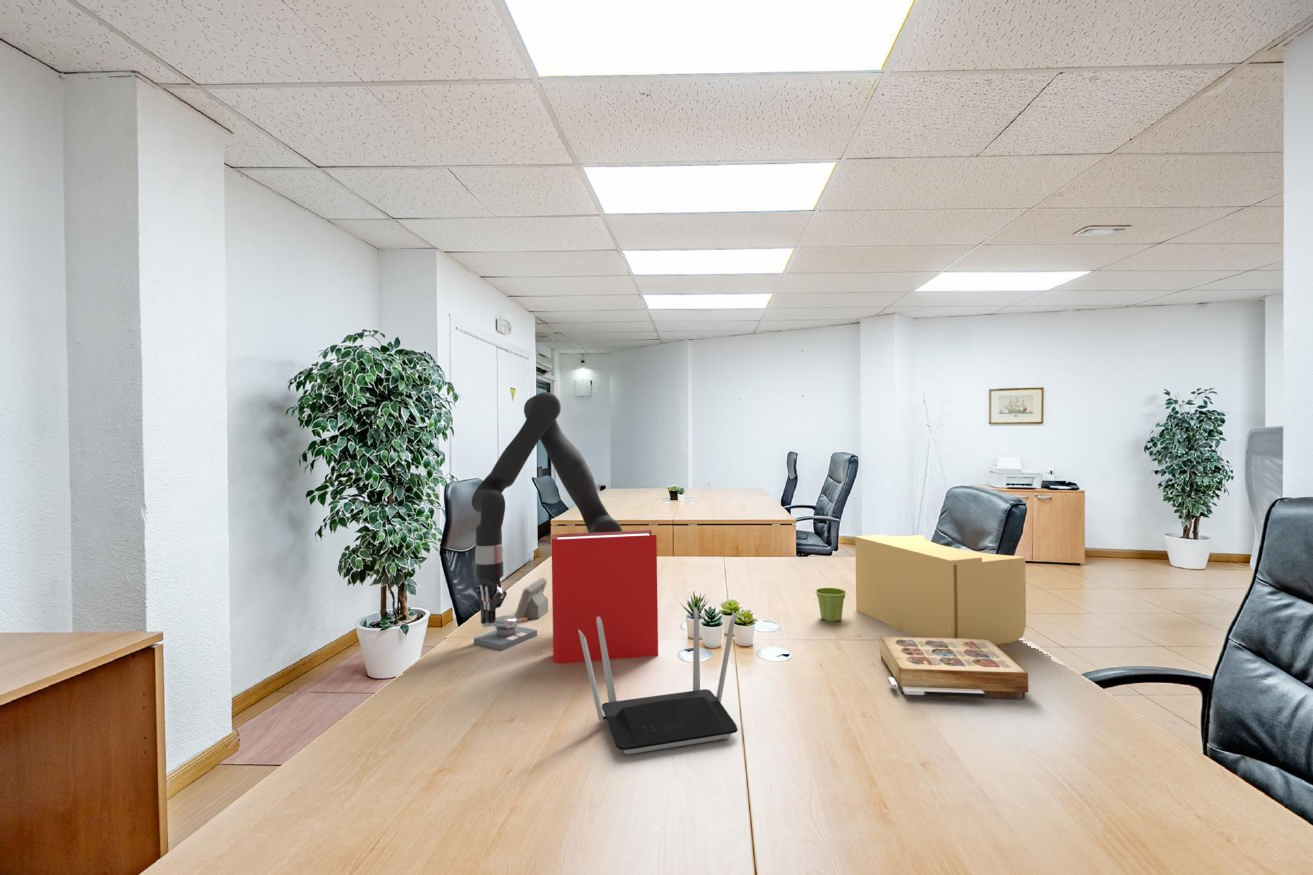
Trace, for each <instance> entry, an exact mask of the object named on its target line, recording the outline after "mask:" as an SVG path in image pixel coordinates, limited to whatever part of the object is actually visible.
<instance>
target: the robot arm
mask: <svg viewBox="0 0 1313 875" xmlns="http://www.w3.org/2000/svg"><path fill="white" fill-rule="evenodd" d="M561 411H562V404H561V401H560V399H559V398H558V397H557V396H556V395H555V394H554V393H552V392H547V391H546V392H540V393H537V394H536V395H533V396H531V397H530V398H529V399H527V400H526V401H525V403H524V407H523V413H524V417H525V421H524V423H523V424H522V426H521V428H520V429H519V431H518V432H517V434H516V435H515V437H514V438H512V440H511V441H510V443H509V444H508V445H507V446H506V448H505V449H504V451H502V452H501V455H500V456H499V458H498V459H497V461H496V463H495V464H494V466H493V468H492V470H491V471H490V473H489V474H487V476H486V477H485V478H484V480H482V482H481V483H480V484H479V485H478V486H477V487H476V489H475V491H474V493H473V494H472V496H471V506H472V508H473V510H474V511H475V512H477V513H479V514H480V523H479V524H477V525H476V528H475V551H474V552H475V553H474V554H475V555H474V562H475V563H474V564H475V578H476V580H478V585H477V586H474V588H473V591H474V593H475V596H476V597H477V600H478V603H479V605H480V607H481V606H484V609H485V613H486V623H489V624H491V623H494V622H495V621H496V618H497V615H496V614H497V613H496V610H497V609H499V608H500V607H501V606H502V605H503V603H504V601H505V598H506V596H507V594H508V593H507V591H506V590H504V591H503V589H502V583H501V578H502V577H503V576H504V548H503V533H502V532H503V531H502V528H503V527H502V526H503V523H504V520H505V519H504V518H505V514H506V513H505V512H506V500H505V497H504V495H503V492H504V490H506V489H507V488H509V487H511V486H512V485H513V484H514V483H515V481H516V479H517V477H518V476H519V475H520V472H521V471H522V470H523V468H524V466H525V464H526V462H527V460H528V459H529V457H530V455H531V454H532V452H533V450H534V449H535V447H536V445H537V444H538V442H539V441H540V442H541V444H542V445H543V447H544V450H545V451H546V454H547V455H548V456H547V457H548V458H549V460H550V461H551V464H552V465H553V467H554V470H555V472H556V474H557V476H558V478H559V479H560V481H561V483H562V485H563V487H564V489H565V490H566V492H567V494H568V495H569V497H570V498H571V500H572V501H573V503H574V504H575V505H576V507H577V509H578V510H579V513H580V515H581V518H582V519H583V522H584V524H585V528H586V530H587V533H597V532H620V531H623V529H622V525H621V523H619V521H617V520H615V519H614V518H613V517H612V516H611V515H610V513H608V511H607V509H606V507H605V506H604V504H603V502H602V501H601V498H600V496H599V493H598V490H597V486H596V483H595V482H596V481H595V480H594V477H593V474H592V472H591V470H590V467H589V466H588V464H587V462H586V459H585V458H584V457H583V455H582V453H581V452H580V451H579V450H578V449H577V448H576V446H575V445H574V444H573V443H572V442H571V441H570V440H569V439H568V438H567V437H566V435H565V434H564V433H563V431H562V429H561V427H560V425H559V423H558V421H557V418H558V417H559V416H560V413H561Z"/></svg>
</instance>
